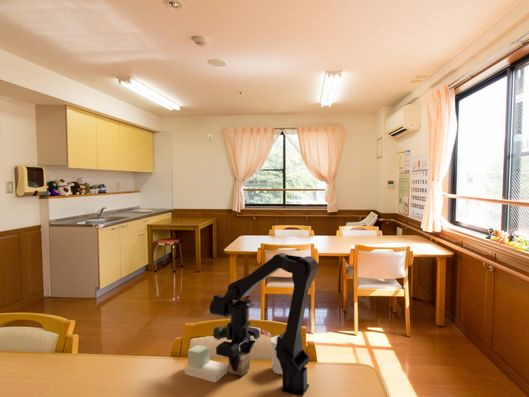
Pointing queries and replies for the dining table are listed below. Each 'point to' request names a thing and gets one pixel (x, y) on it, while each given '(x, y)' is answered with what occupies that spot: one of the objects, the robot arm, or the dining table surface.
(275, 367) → the white cup
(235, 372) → the walnut cube
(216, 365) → the l-shaped block
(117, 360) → the dining table surface
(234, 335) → the robot arm
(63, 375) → the dining table surface
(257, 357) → the dining table surface
